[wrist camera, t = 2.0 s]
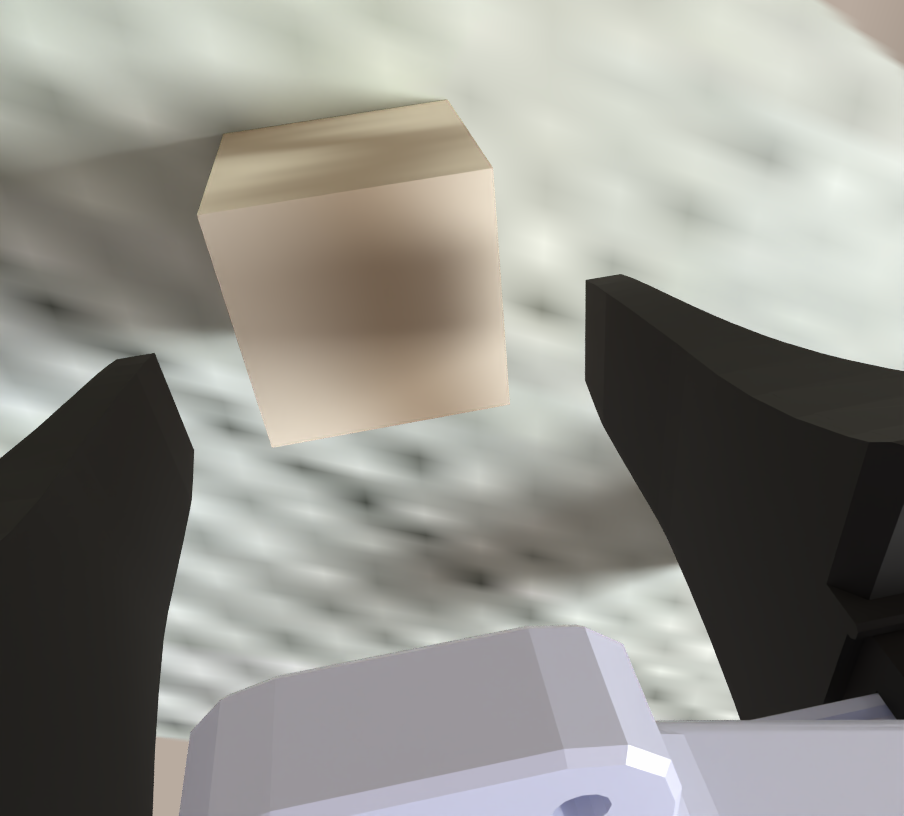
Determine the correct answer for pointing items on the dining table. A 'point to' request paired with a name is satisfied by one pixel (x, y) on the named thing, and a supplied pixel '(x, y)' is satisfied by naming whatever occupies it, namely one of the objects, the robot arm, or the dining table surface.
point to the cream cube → (360, 269)
